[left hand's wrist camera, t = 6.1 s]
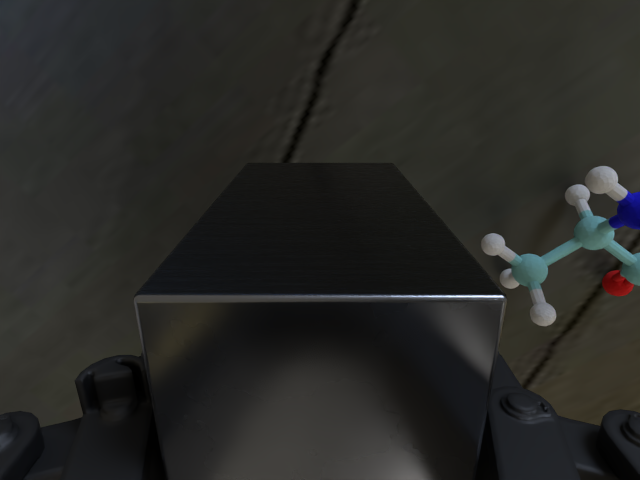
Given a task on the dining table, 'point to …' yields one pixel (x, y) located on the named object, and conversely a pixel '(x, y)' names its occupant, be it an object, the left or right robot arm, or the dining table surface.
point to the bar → (320, 333)
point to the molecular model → (577, 244)
